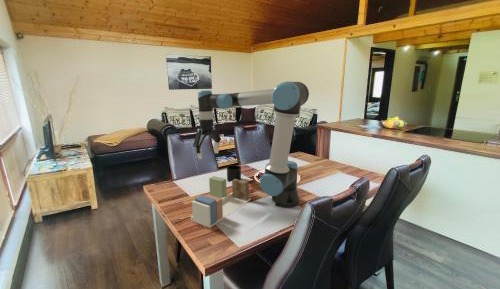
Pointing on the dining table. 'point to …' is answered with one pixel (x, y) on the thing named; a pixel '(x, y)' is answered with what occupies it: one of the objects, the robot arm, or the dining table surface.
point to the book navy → (212, 204)
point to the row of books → (203, 211)
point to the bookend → (240, 189)
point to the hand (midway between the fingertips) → (208, 155)
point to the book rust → (218, 206)
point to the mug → (233, 172)
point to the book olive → (217, 187)
